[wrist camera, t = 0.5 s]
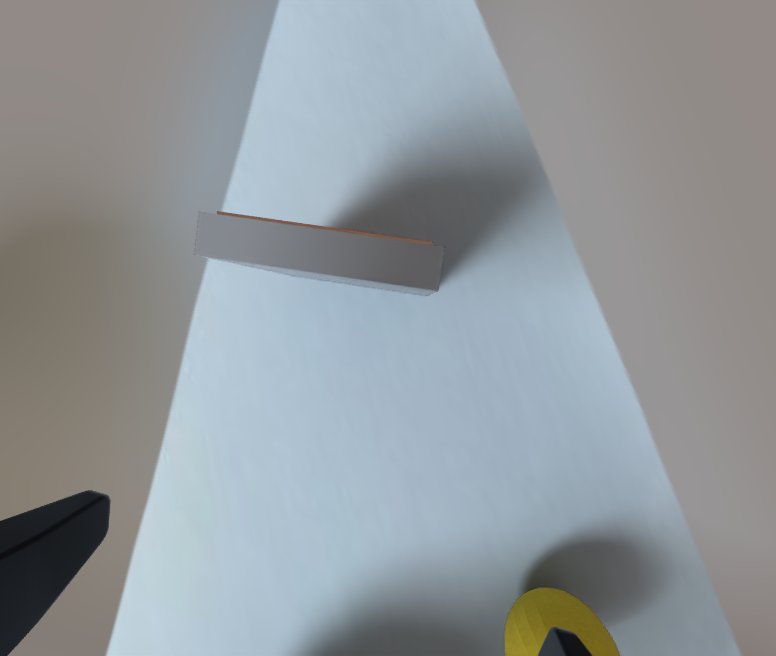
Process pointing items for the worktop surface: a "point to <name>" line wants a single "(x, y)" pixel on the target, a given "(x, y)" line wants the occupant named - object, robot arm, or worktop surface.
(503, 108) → the worktop surface
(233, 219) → the tile
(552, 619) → the lemon
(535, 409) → the worktop surface
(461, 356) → the worktop surface
